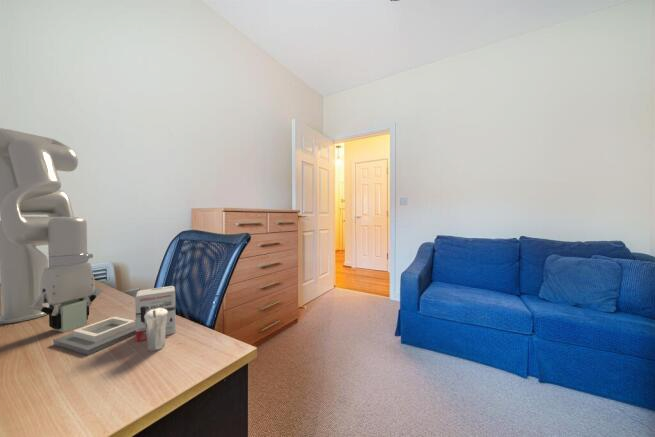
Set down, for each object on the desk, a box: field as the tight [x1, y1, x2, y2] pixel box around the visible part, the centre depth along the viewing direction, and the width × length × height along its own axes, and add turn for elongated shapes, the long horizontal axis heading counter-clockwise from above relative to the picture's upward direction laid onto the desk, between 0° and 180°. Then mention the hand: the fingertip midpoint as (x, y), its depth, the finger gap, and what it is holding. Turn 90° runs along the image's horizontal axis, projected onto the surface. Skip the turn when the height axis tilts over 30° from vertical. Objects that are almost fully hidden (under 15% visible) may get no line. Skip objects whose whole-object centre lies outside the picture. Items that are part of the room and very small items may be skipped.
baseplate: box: [53, 316, 136, 356], centre depth 63 cm, size 14×14×3 cm
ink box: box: [134, 285, 176, 343], centre depth 64 cm, size 8×5×12 cm, turn 123°
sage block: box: [52, 299, 88, 333], centre depth 69 cm, size 5×5×7 cm
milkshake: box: [144, 308, 168, 352], centre depth 57 cm, size 5×5×10 cm
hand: (70, 323), depth 69 cm, fingers open, 5 cm apart
